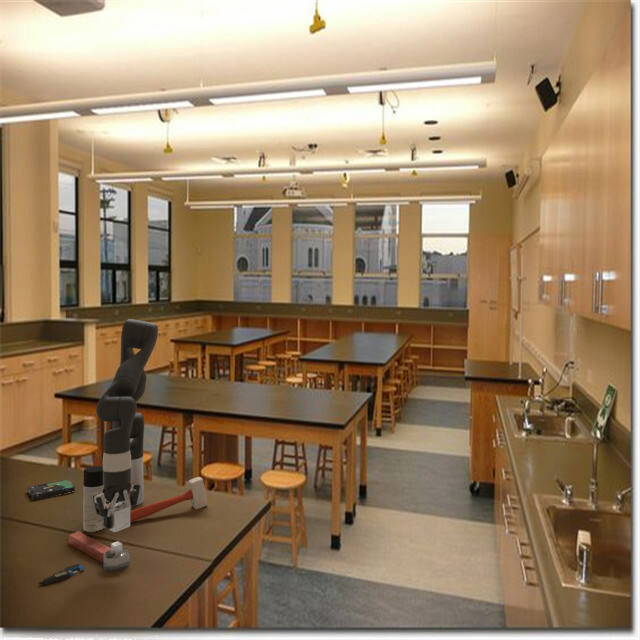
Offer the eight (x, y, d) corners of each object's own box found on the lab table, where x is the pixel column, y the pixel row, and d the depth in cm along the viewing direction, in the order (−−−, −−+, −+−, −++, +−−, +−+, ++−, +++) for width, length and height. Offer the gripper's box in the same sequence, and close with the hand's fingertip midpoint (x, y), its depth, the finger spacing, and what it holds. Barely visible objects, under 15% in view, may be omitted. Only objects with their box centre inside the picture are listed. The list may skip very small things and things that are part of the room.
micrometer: (80, 561, 154) (87, 567, 150) (80, 567, 154) (86, 574, 150) (35, 574, 146) (41, 582, 142) (34, 581, 146) (41, 589, 142)
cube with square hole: (104, 527, 153) (104, 507, 153) (120, 521, 157) (120, 501, 157) (114, 532, 150) (114, 511, 150) (130, 526, 154) (130, 506, 154)
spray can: (100, 522, 182) (100, 464, 181) (108, 528, 178) (108, 469, 177) (80, 528, 178) (79, 468, 177) (88, 534, 173) (87, 473, 172)
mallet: (120, 509, 179) (204, 478, 196) (117, 505, 181) (200, 475, 199) (125, 538, 180) (208, 505, 198) (122, 534, 183) (204, 502, 200)
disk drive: (32, 502, 200) (75, 493, 209) (32, 495, 199) (75, 486, 209) (27, 494, 208) (68, 485, 217) (27, 486, 207) (68, 478, 217)
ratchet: (62, 545, 165) (62, 525, 165) (84, 537, 171) (84, 517, 171) (112, 574, 149) (112, 552, 149) (134, 564, 155) (134, 542, 155)
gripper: (131, 457, 161) (131, 513, 162) (85, 470, 149) (86, 530, 150) (146, 463, 156) (146, 520, 157) (101, 475, 145) (101, 537, 146)
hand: (117, 524), depth 154 cm, fingers closed on cube with square hole, 5 cm apart
